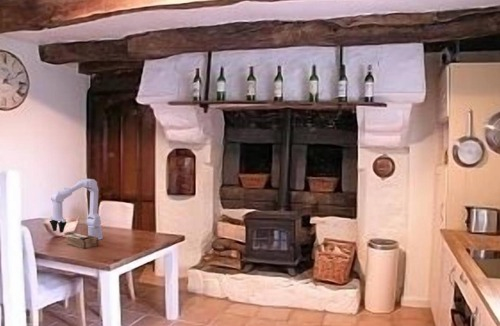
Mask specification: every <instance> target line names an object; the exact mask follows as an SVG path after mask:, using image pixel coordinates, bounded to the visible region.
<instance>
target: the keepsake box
mask: <svg viewBox="0 0 500 326" xmlns="http://www.w3.org/2000/svg"><path fill="white" fill-rule="evenodd" d="M80 235H85V236H88V237H87V238H82V239H78V238H73V237H69V236H68V238H67V245H68V246H69V247H70V246H71V247H75V248H79V249H83V250H84V249H86V250H87V249H90V248H95V247H99V240H98V237H94V236H90V235H88V234H84V233H81V234H80Z"/></svg>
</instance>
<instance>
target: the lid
mask: <svg viewBox="0 0 500 326" xmlns="http://www.w3.org/2000/svg"><path fill="white" fill-rule="evenodd" d="M85 235H86V234H85ZM85 235H81V234H80V233H75V231H67V232H63V234H62V237H63V238H67V239H68V236H69V237H73V238H78V239H82V238H87V237H88V236H85Z"/></svg>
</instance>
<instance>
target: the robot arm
mask: <svg viewBox="0 0 500 326" xmlns="http://www.w3.org/2000/svg"><path fill="white" fill-rule="evenodd" d="M81 188H84V189H86V190H88V192H90V194H89V214H87V217H86V220H85V225H87V235H90V236H94V237H98V241H100V240H104V237H103V227H102V226H101V224H102V222H101V216H100V215H99V214H98V210H99V186H98V181H96V180H95V179H94V178H82V179H80V180H78V182H77V183H74V185H72V186H71V187H64V188H63V189H62V190H61V191H58V192H57V193H53V195H52V196H51V198H50V200H51V201H52V209H53V210H52V211H53V213H52V214H53V215H52V216H50V219H49V224H50V225H51V228H52V229H51V230H52V232H57V229H58V230H59V233H60V234H62V233H64V230H65V227H66V225H67V219H65V218H64V216H63V203H64V201H65V199H67V198H69V197H70V196H72V195H73V193H74V192H75V191H78V190H80V189H81Z"/></svg>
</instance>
